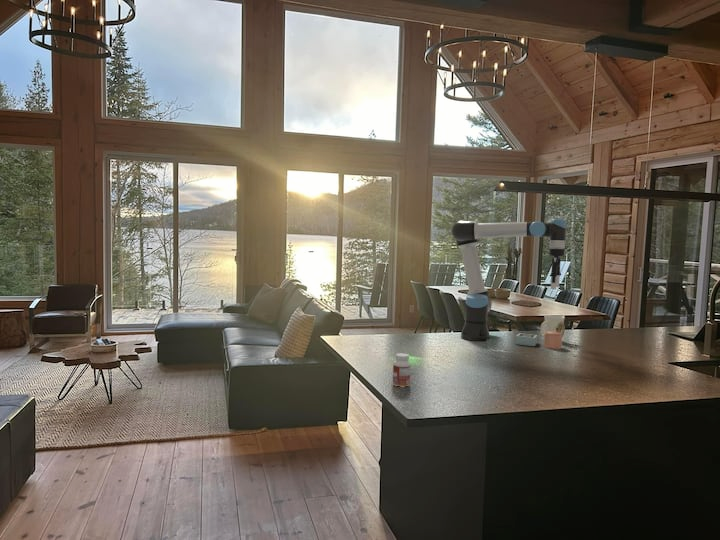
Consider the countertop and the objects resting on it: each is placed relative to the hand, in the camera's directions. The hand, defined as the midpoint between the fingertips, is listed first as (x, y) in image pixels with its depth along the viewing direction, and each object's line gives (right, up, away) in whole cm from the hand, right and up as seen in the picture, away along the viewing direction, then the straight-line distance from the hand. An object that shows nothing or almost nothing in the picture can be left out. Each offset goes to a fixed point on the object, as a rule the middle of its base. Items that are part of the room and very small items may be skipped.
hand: (554, 288), depth 281 cm
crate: (-19, -29, -11) cm, 36 cm away
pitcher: (-1, -29, +2) cm, 29 cm away
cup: (-8, -30, -18) cm, 36 cm away
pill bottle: (-89, -32, -93) cm, 133 cm away
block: (-19, -28, -11) cm, 36 cm away
